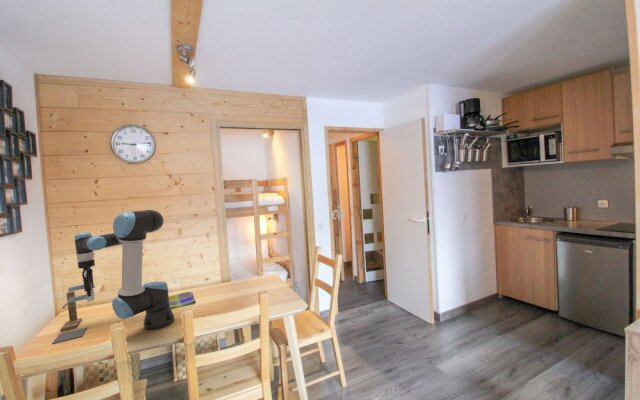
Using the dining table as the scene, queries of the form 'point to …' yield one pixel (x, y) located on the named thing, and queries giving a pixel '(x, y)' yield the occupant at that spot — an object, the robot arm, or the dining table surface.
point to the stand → (71, 314)
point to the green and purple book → (181, 300)
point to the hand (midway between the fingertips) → (91, 300)
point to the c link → (78, 296)
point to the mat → (69, 335)
